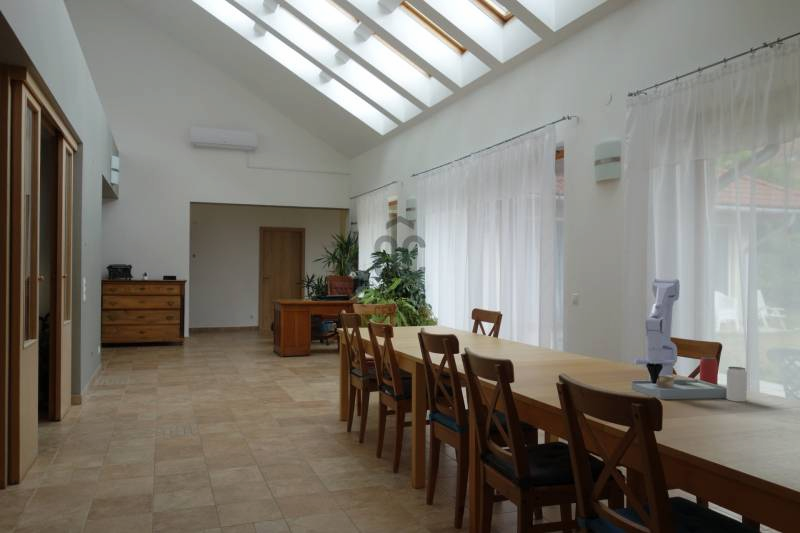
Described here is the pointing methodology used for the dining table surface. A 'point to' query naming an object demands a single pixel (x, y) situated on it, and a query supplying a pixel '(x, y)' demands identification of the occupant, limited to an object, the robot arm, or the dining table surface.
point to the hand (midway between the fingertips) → (653, 383)
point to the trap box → (681, 389)
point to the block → (665, 381)
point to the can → (736, 384)
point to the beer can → (709, 370)
